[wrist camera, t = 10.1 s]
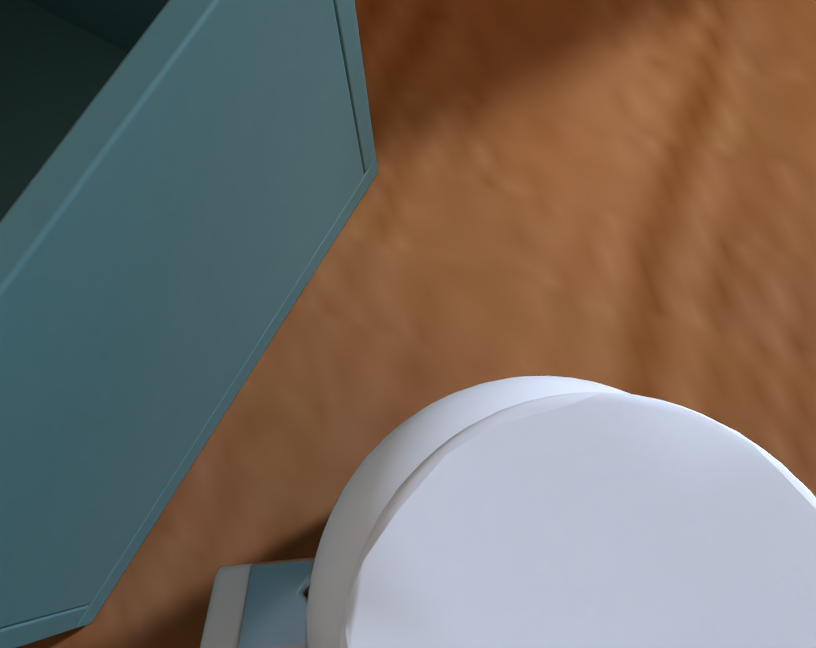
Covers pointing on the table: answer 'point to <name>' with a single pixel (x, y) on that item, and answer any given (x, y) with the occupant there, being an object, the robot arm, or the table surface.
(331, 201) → the trash bin
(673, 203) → the table surface
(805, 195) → the table surface
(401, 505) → the pill bottle
